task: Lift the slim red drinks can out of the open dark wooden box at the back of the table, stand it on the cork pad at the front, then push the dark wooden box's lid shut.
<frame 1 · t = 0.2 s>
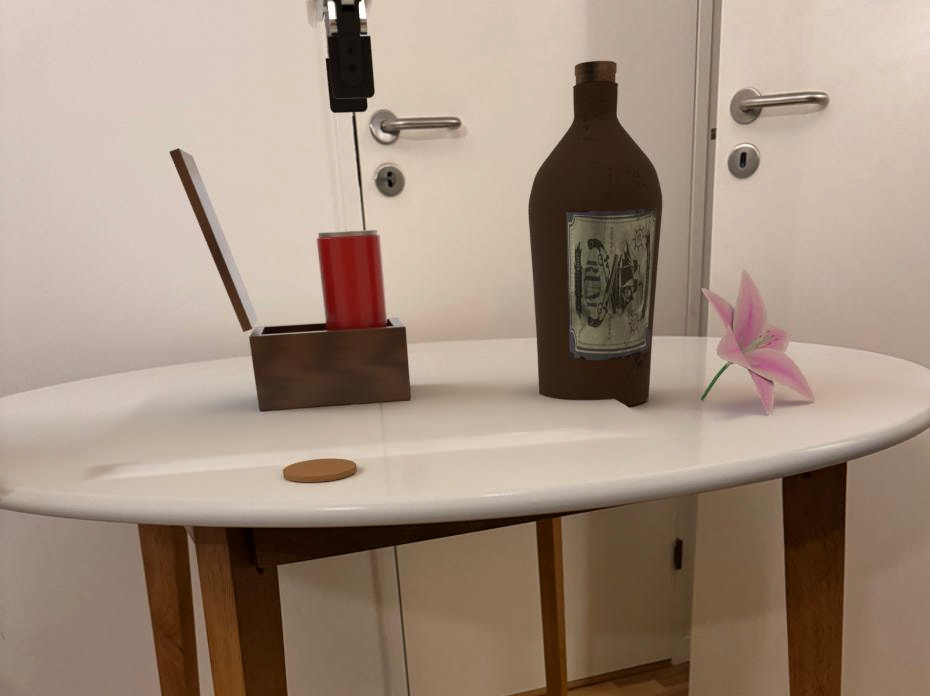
hand: (351, 105, 76), 24 cm above the table, tool pointing down, fingers open, 9 cm apart
pad: (320, 472, 61), on the table
lid: (217, 242, 76), point 14 cm above the table, hinge at 105.0°
can: (363, 395, 83), point 1 cm above the table, touching dark wooden box
brown liquor bottle: (593, 402, 81), on the table
dark wooden box: (336, 407, 83), on the table
lily: (747, 407, 76), on the table
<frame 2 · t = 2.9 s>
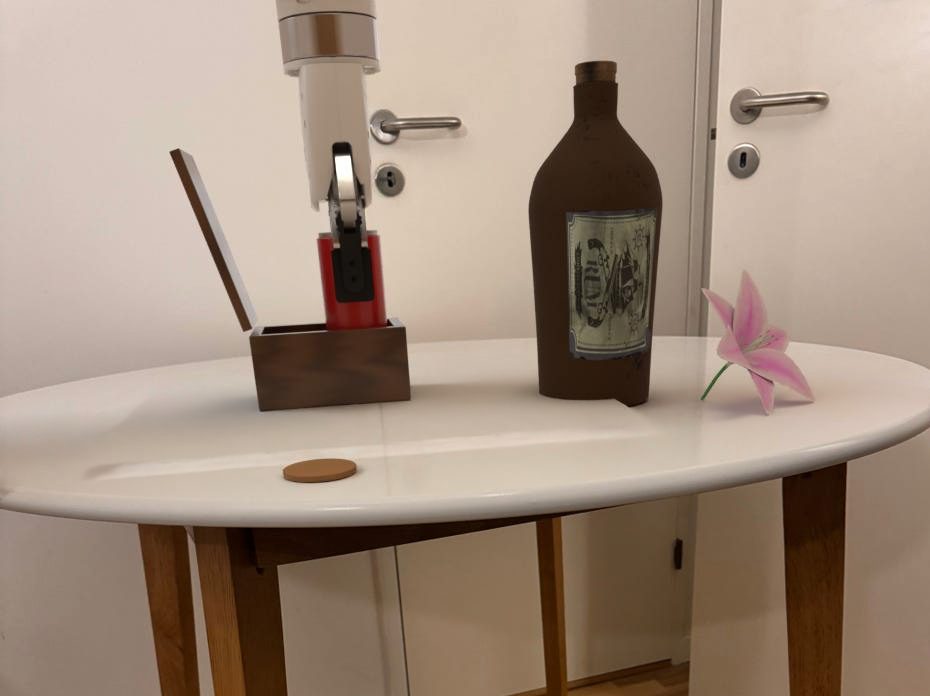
hand: (354, 296, 80), 9 cm above the table, tool pointing down, fingers closed on can, 5 cm apart
can: (363, 395, 83), point 1 cm above the table, touching dark wooden box, gripper
everything else where it was.
when the fingers open (9 cm above the table, at t = 11.4 s): can stays where it is, resting on pad.
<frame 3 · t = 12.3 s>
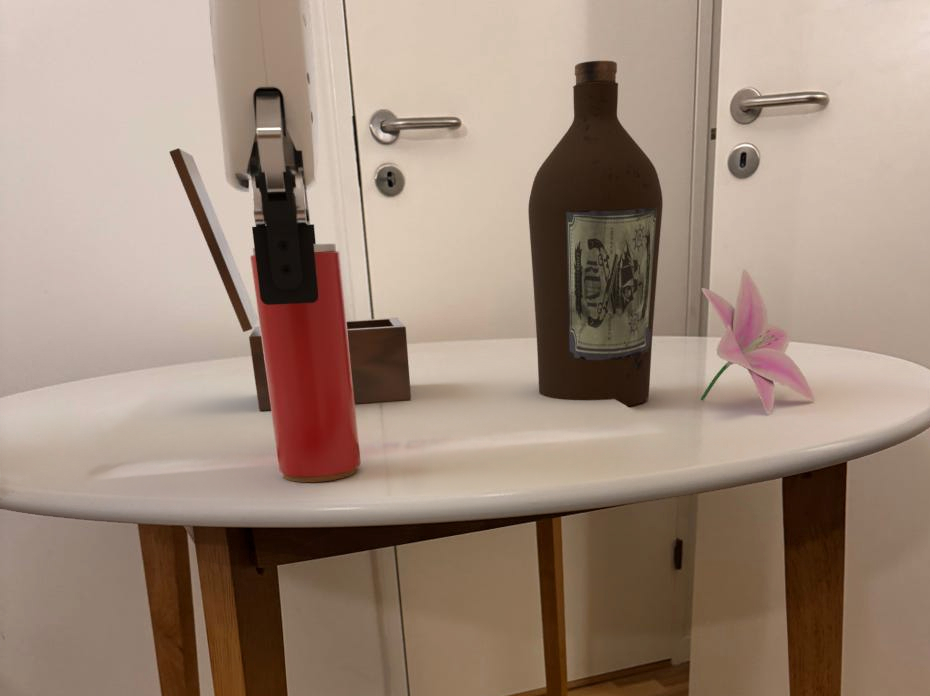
hand: (293, 296, 57), 11 cm above the table, tool pointing down, fingers open, 9 cm apart
can: (320, 466, 61), resting on pad
everything else where it was.
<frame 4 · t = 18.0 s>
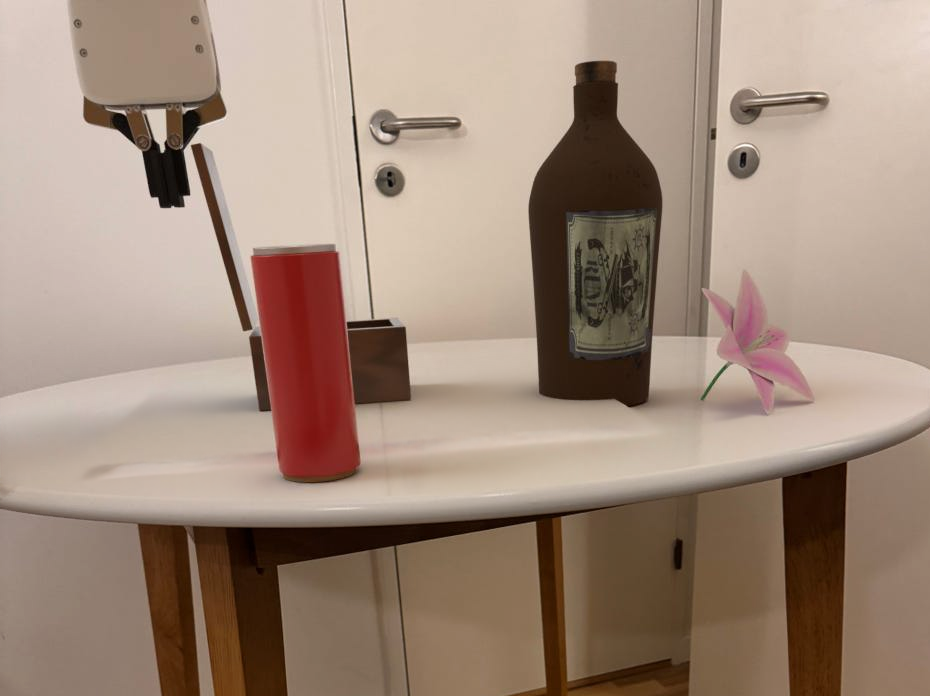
hand: (172, 207, 75), 17 cm above the table, tool pointing down, fingers closed
lid: (227, 240, 76), point 14 cm above the table, hinge at 97.9°, touching gripper
everything else where it was.
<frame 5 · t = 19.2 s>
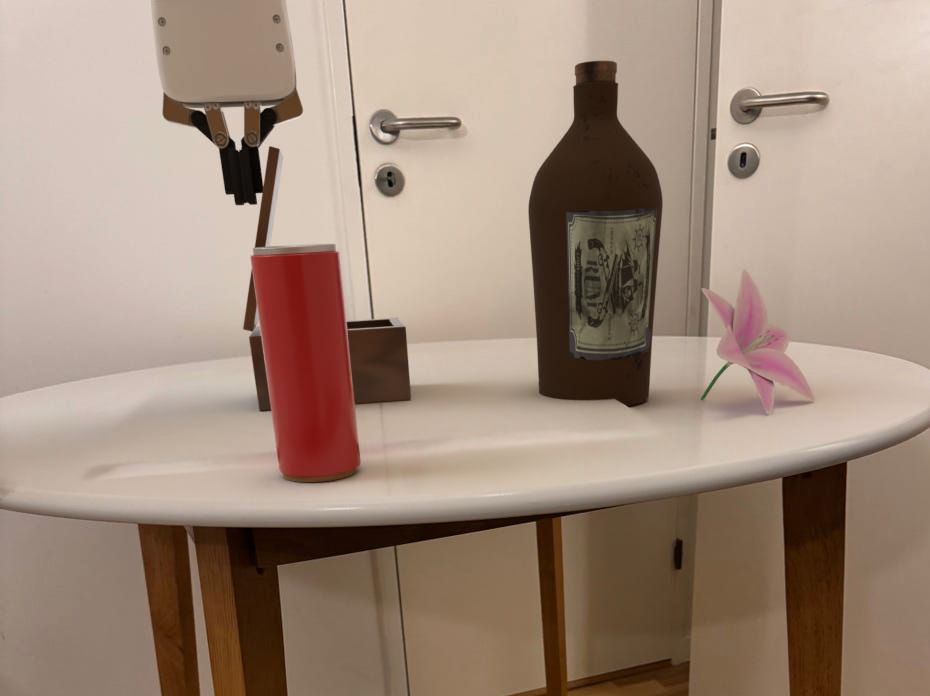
hand: (246, 204, 75), 17 cm above the table, tool pointing down, fingers closed
lid: (263, 241, 77), point 14 cm above the table, hinge at 73.4°, touching gripper
everything else where it was.
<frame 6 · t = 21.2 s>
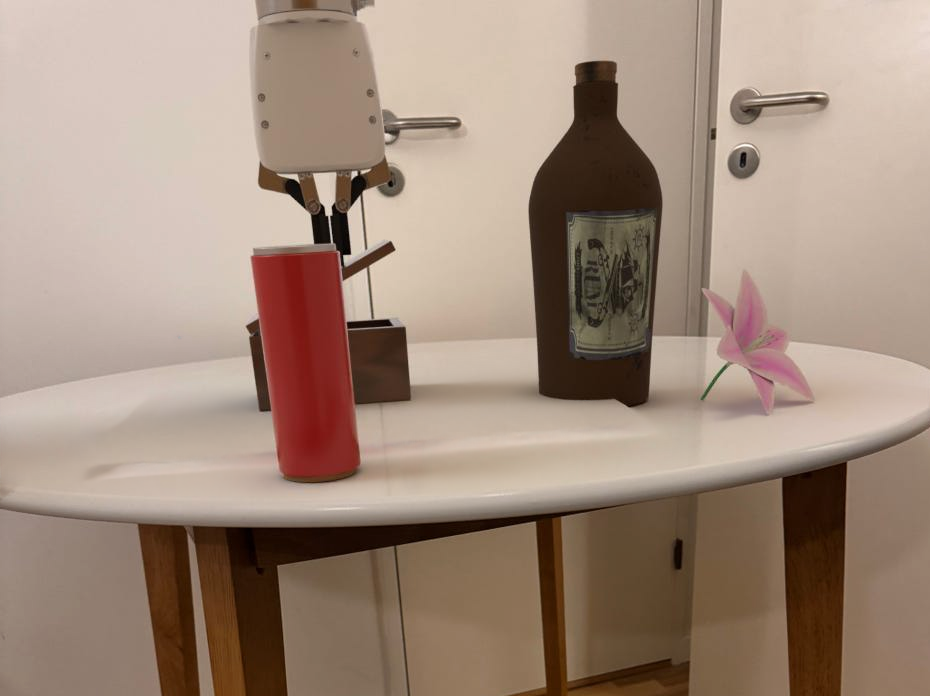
hand: (334, 265, 78), 12 cm above the table, tool pointing down, fingers closed
lid: (320, 285, 79), point 10 cm above the table, hinge at 25.1°
everything else where it was.
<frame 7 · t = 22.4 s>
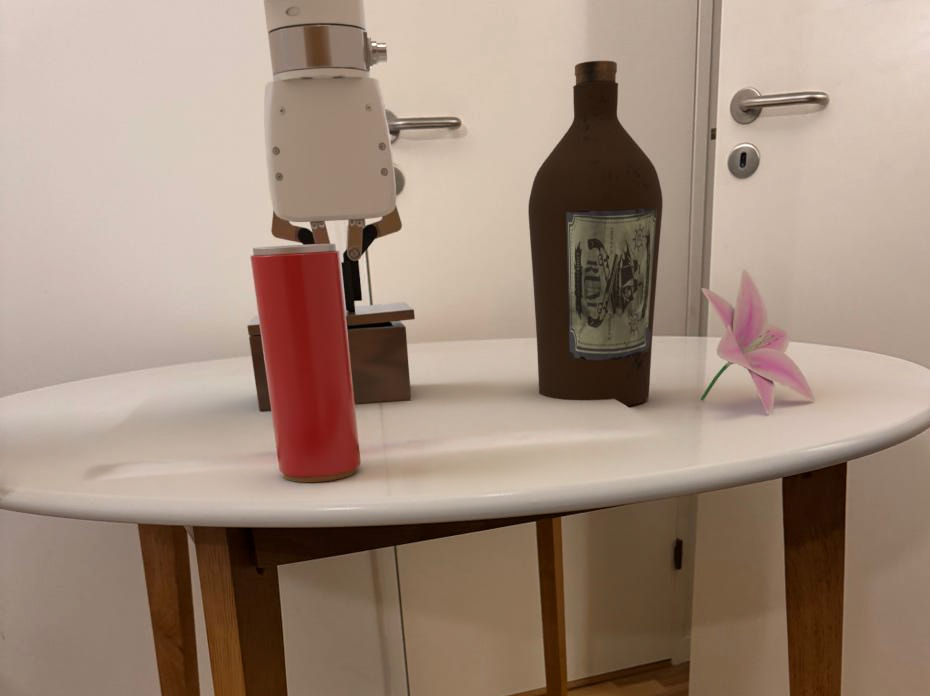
hand: (345, 310, 80), 8 cm above the table, tool pointing down, fingers closed
lid: (331, 317, 80), point 8 cm above the table, hinge at 1.9°, touching gripper
everything else where it was.
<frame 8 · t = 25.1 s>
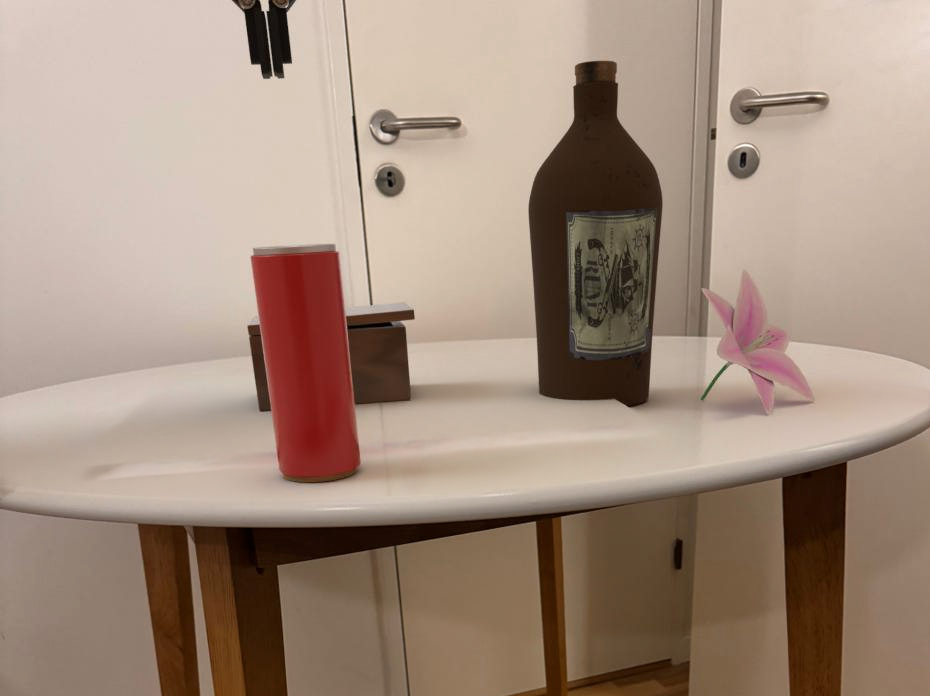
hand: (273, 75, 69), 25 cm above the table, tool pointing down, fingers closed
lid: (331, 318, 80), point 8 cm above the table, hinge at 1.9°
everything else where it was.
at the end: can 0.0 cm off-centre on the pad, point 0.4 cm above the pad's base; can tilted 0°; lid at +2° (first picture: +105°) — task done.
